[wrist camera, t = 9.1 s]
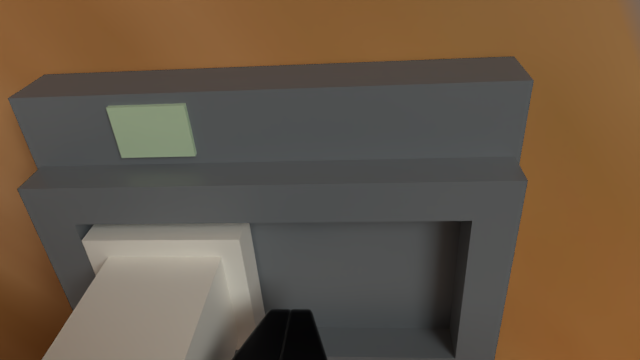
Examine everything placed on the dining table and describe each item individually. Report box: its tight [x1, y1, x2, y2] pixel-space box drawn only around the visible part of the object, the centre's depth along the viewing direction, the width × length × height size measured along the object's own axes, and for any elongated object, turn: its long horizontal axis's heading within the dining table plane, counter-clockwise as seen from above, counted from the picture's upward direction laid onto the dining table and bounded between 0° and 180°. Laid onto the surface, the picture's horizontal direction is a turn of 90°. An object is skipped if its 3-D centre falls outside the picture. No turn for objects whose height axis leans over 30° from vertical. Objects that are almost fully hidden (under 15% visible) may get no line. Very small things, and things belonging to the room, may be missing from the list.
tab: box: [42, 223, 265, 360], centre depth 9 cm, size 3×3×3 cm
